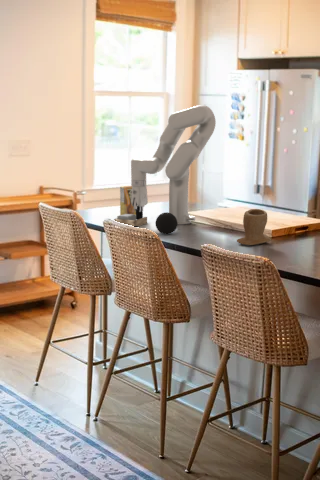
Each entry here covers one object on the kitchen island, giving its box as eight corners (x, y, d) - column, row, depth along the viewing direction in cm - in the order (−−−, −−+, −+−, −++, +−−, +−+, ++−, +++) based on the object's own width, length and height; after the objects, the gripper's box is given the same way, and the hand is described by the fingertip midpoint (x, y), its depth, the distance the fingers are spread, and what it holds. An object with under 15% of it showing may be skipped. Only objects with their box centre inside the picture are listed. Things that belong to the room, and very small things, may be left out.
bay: (147, 223, 358) (147, 217, 358) (135, 227, 347) (135, 220, 347) (125, 221, 363) (125, 215, 363) (114, 225, 352) (113, 219, 352)
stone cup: (252, 248, 297) (253, 212, 295) (232, 244, 307) (233, 209, 304) (278, 244, 306) (279, 209, 303) (258, 240, 316) (259, 206, 313)
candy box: (133, 213, 388) (132, 185, 385) (138, 214, 385) (137, 186, 382) (119, 215, 382) (119, 186, 379) (124, 216, 379) (124, 187, 376)
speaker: (154, 232, 334) (154, 211, 332) (176, 231, 334) (176, 210, 333) (156, 236, 324) (156, 214, 322) (178, 236, 325) (178, 214, 323)
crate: (136, 224, 357) (136, 214, 356) (127, 226, 350) (127, 216, 349) (126, 223, 360) (125, 213, 359) (117, 225, 353) (117, 215, 352)
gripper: (139, 185, 351) (139, 222, 355) (151, 182, 365) (152, 217, 368) (125, 184, 354) (126, 221, 358) (138, 181, 368) (138, 216, 371)
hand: (139, 219), depth 363 cm, fingers closed
